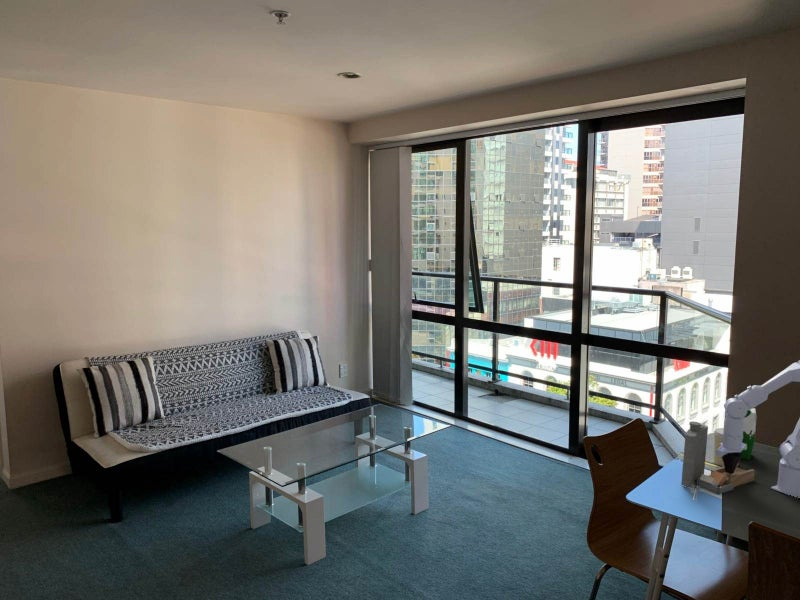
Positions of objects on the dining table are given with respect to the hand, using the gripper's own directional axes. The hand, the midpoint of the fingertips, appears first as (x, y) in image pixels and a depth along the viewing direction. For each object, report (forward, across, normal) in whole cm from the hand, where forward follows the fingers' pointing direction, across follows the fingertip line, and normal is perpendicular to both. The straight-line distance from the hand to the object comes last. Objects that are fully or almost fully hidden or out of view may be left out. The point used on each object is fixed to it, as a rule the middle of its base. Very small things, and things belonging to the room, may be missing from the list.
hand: (729, 472), depth 201 cm
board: (+3, -2, 0) cm, 4 cm away
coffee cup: (+3, -15, -10) cm, 18 cm away
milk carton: (+3, -29, -13) cm, 32 cm away
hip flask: (+3, +10, -7) cm, 13 cm away
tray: (+3, +9, 0) cm, 10 cm away
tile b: (0, +10, 0) cm, 11 cm away
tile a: (+2, +6, 0) cm, 6 cm away
